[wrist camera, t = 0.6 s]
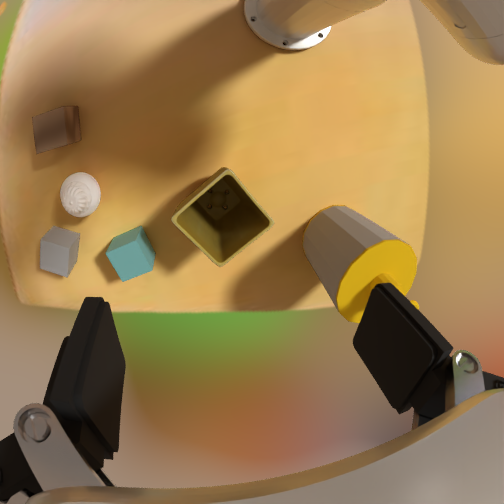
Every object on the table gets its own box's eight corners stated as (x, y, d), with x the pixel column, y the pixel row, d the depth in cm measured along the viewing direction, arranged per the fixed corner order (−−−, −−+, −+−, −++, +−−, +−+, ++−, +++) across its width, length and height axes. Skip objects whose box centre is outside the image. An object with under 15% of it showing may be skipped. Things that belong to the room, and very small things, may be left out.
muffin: (102, 212, 37) (88, 232, 31) (67, 202, 35) (47, 220, 29) (111, 172, 34) (96, 185, 28) (74, 162, 32) (53, 174, 26)
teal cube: (113, 237, 39) (105, 253, 35) (141, 225, 39) (136, 240, 35) (128, 264, 41) (122, 282, 37) (155, 253, 42) (152, 270, 37)
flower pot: (173, 196, 38) (168, 220, 30) (220, 155, 37) (229, 167, 29) (213, 237, 42) (220, 268, 35) (259, 200, 41) (276, 224, 33)
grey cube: (53, 225, 36) (40, 239, 31) (80, 233, 37) (69, 248, 33) (51, 252, 37) (39, 268, 33) (77, 260, 39) (67, 277, 35)
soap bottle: (300, 277, 49) (354, 369, 31) (294, 208, 43) (367, 288, 24) (363, 259, 51) (432, 333, 32) (366, 194, 44) (457, 254, 26)
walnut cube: (48, 115, 28) (32, 117, 24) (78, 106, 29) (63, 106, 24) (52, 147, 30) (36, 154, 26) (81, 139, 31) (67, 144, 27)
